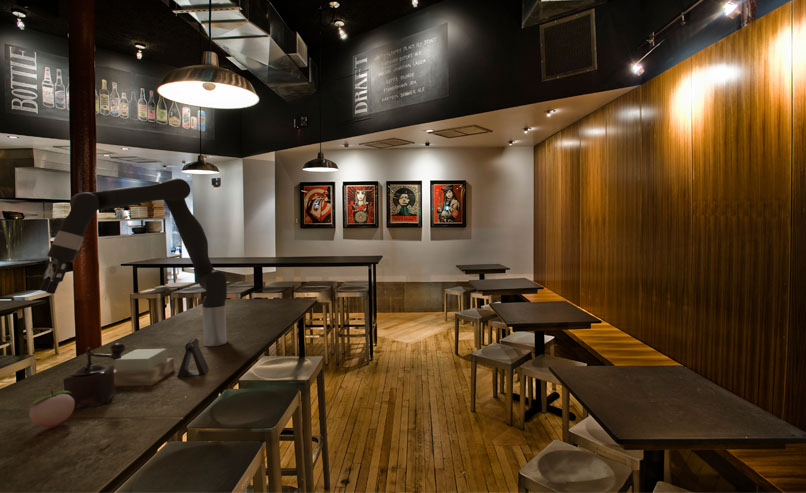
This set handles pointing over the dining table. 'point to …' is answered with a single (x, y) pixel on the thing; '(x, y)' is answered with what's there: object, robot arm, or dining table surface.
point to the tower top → (141, 359)
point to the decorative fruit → (52, 409)
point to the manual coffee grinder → (93, 380)
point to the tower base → (144, 375)
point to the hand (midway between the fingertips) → (46, 292)
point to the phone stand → (198, 358)
